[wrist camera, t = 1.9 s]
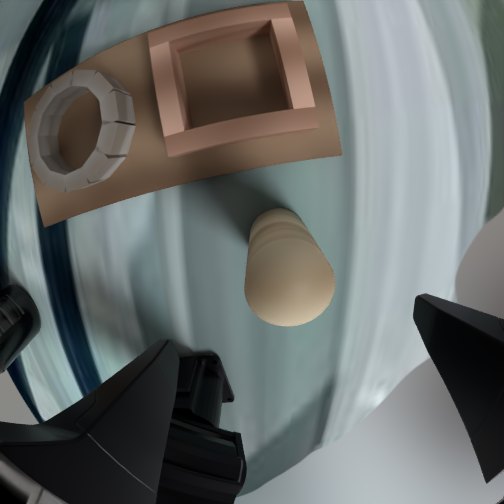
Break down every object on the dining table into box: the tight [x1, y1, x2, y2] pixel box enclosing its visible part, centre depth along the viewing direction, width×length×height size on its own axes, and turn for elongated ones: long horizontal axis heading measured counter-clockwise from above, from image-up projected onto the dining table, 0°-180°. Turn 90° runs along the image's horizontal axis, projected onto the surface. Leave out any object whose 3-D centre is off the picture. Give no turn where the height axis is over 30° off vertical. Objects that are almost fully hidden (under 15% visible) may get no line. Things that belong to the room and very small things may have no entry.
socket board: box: [24, 1, 342, 228], centre depth 14 cm, size 12×24×4 cm, turn 101°
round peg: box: [245, 208, 335, 326], centre depth 15 cm, size 4×4×8 cm
